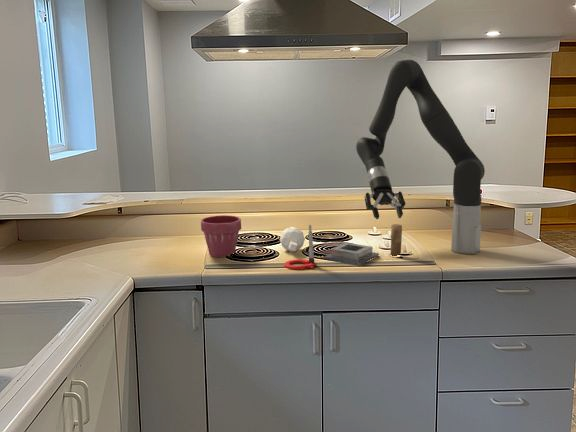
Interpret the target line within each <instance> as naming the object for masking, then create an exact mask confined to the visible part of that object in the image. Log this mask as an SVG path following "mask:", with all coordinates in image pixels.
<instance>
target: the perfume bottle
mask: <svg viewBox="0 0 576 432" xmlns="http://www.w3.org/2000/svg"><path fill="white" fill-rule="evenodd" d="M305 239H306V238H305V236H304V232H303V231H302V230H300V228H297V227H295V226H290V227H286V228H285V229H284V230H283V231H282V232H281V235H280V238H279V241H280V245H281V246H282V247H283V249H285V250H286V251H288V252H292V253H293V252H297V251H299V250H300V249H301V248H302V247H304V244H305V241H306V240H305Z"/></svg>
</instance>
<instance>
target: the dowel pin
mask: <svg viewBox="0 0 576 432" xmlns="http://www.w3.org/2000/svg"><path fill="white" fill-rule="evenodd" d="M390 229H391V231H390V232H391V233H390V255H392V256H397V255H399V254H400V253H401V254H402V238H403V237H402V234H403V225H402V224H397V223H395V224H391V228H390ZM390 255H389V256H390Z"/></svg>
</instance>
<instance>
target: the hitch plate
mask: <svg viewBox="0 0 576 432" xmlns="http://www.w3.org/2000/svg"><path fill="white" fill-rule="evenodd" d="M378 255H379V256H380V253H379V252H375V251H374V252H373V246H370V245H362V244H356V243H350V242H344V243H341V244H339V245H337V246H335V247H333V248H331V249H330V253H329V254H326V255H325V256H323V259H324V260H325V259H326V260H327V261H331V262H337V263H343V264H349V265H354V266H363V265H364V263H365V262H367V261H368V260H370V259H372V258H374V257H376V256H378ZM379 256H378V257H379ZM376 258H377V257H376ZM374 259H375V258H374ZM372 260H373V259H372ZM367 263H368V262H367ZM365 264H366V263H365Z"/></svg>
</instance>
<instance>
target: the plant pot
mask: <svg viewBox="0 0 576 432" xmlns="http://www.w3.org/2000/svg"><path fill="white" fill-rule="evenodd" d="M241 220H242V219H241V217H239V216H236V215H226V214H225V215H212V216H208V217H207V216H206V217H204V218H202V219H200V230H201V232H203V235H204V238H205V243H206V248H207V250H208V254H209V256H210V255H211V257H213V256H214V257H213V258H226V256H228V255H231V254H233V253H235V254H236V249H237V245H238V238H239V232H240V230H241V229H242V221H241ZM228 257H229V256H228Z"/></svg>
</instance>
